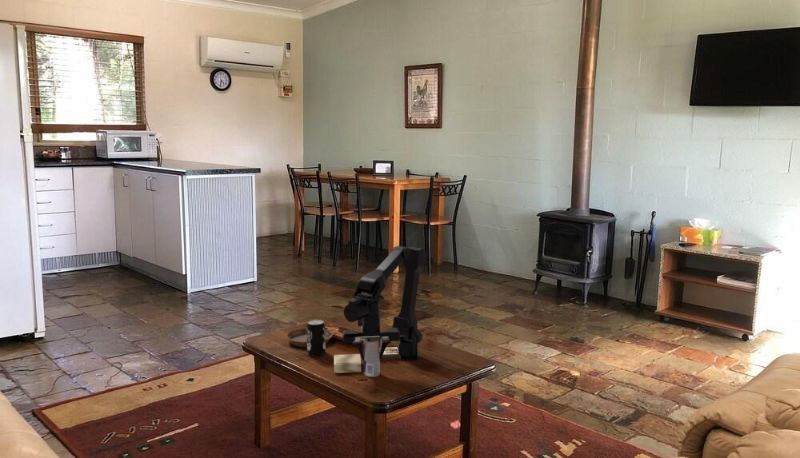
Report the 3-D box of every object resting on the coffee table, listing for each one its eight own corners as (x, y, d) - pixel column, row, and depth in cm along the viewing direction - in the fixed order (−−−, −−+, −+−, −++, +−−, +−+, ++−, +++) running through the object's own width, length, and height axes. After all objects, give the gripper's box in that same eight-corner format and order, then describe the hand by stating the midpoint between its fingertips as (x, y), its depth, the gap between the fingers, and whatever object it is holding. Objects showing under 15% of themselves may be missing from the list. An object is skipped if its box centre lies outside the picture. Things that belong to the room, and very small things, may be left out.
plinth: (360, 362, 220) (359, 353, 219) (361, 371, 211) (360, 362, 211) (334, 363, 219) (334, 354, 219) (334, 373, 210) (334, 364, 210)
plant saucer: (312, 331, 255) (311, 324, 254) (342, 340, 243) (342, 333, 243) (277, 342, 241) (276, 335, 241) (307, 353, 230) (307, 345, 230)
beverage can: (322, 357, 225) (321, 325, 223) (304, 356, 226) (303, 324, 224) (327, 351, 231) (327, 319, 229) (311, 349, 233) (310, 318, 231)
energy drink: (371, 370, 213) (370, 336, 211) (383, 373, 209) (382, 339, 208) (360, 374, 209) (360, 340, 207) (372, 378, 205) (372, 343, 203)
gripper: (397, 306, 215) (397, 350, 217) (342, 308, 213) (343, 352, 215) (400, 316, 204) (400, 362, 206) (342, 318, 202) (343, 364, 204)
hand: (371, 359), depth 208 cm, fingers closed on energy drink, 5 cm apart
